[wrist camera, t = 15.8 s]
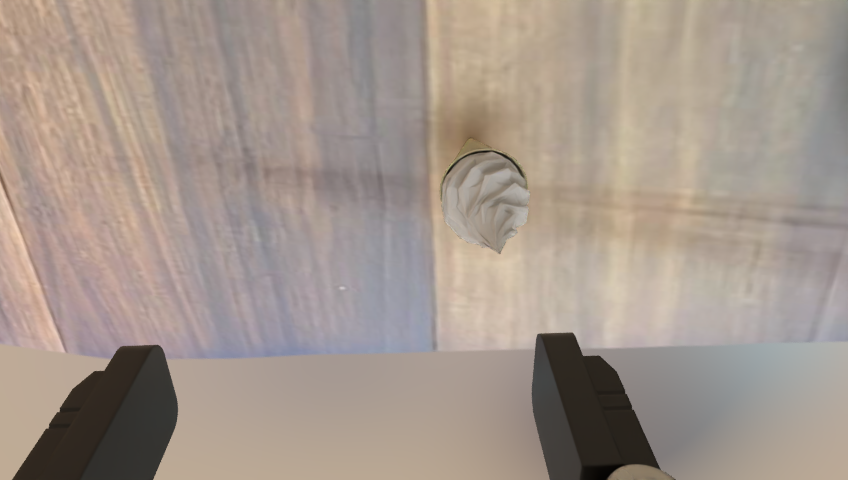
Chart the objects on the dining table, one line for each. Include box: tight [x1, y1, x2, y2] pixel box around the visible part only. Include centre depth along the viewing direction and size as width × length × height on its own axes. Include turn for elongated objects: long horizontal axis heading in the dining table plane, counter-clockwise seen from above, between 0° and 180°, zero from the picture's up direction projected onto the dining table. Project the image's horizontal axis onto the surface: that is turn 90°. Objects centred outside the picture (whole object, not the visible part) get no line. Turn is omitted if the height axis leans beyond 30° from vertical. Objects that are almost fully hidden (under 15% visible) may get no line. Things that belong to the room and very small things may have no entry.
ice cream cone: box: [440, 138, 530, 253], centre depth 36 cm, size 5×5×15 cm
